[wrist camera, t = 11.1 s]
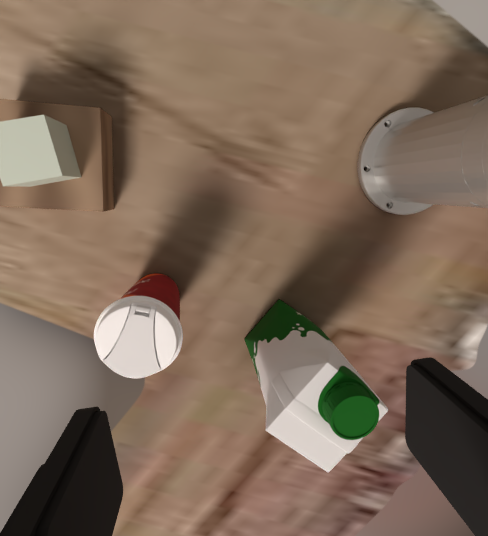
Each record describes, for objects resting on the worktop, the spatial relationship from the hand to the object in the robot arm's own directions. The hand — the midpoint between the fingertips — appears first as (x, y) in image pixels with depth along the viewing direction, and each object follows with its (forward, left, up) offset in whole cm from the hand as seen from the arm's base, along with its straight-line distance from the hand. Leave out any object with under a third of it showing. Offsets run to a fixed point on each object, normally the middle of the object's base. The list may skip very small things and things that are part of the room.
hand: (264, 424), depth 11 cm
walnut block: (+15, -12, -34) cm, 39 cm away
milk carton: (-7, +13, -33) cm, 36 cm away
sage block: (+15, -12, -29) cm, 34 cm away
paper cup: (+8, +5, -33) cm, 35 cm away
